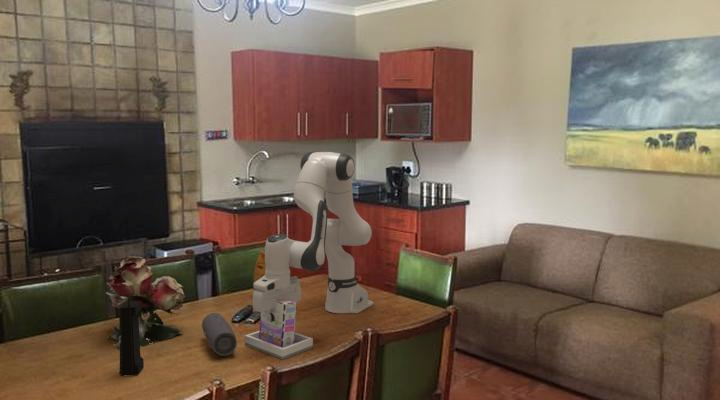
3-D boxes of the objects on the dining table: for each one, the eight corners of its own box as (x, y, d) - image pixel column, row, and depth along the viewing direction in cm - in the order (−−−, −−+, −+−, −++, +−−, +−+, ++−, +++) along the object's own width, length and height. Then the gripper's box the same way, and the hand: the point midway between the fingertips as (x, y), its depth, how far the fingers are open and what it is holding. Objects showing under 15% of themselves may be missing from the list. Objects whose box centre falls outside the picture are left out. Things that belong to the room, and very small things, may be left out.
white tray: (275, 334, 232) (275, 325, 232) (312, 347, 219) (312, 338, 219) (244, 344, 222) (244, 335, 221) (282, 359, 208) (282, 349, 208)
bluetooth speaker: (200, 338, 228) (199, 312, 226) (225, 335, 231) (225, 309, 230) (211, 361, 207) (210, 332, 206) (238, 357, 211) (238, 329, 209)
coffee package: (270, 294, 284) (269, 248, 281) (283, 301, 274) (282, 253, 271) (250, 298, 279) (249, 250, 276) (263, 305, 269) (262, 255, 266)
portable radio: (126, 366, 202) (122, 292, 199) (144, 365, 203) (141, 292, 199) (118, 376, 194) (114, 300, 191) (138, 375, 195) (134, 299, 192)
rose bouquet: (195, 331, 235) (192, 255, 231) (122, 353, 214) (118, 269, 209) (159, 317, 252) (156, 245, 248) (89, 335, 230) (84, 257, 226)
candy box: (294, 347, 217) (297, 301, 215) (281, 350, 212) (284, 303, 211) (271, 337, 226) (273, 293, 225) (258, 340, 222) (260, 295, 221)
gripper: (293, 273, 227) (293, 309, 229) (249, 284, 212) (250, 323, 213) (305, 276, 223) (305, 313, 225) (261, 287, 207) (261, 327, 209)
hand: (278, 318), depth 219 cm, fingers open, 6 cm apart
